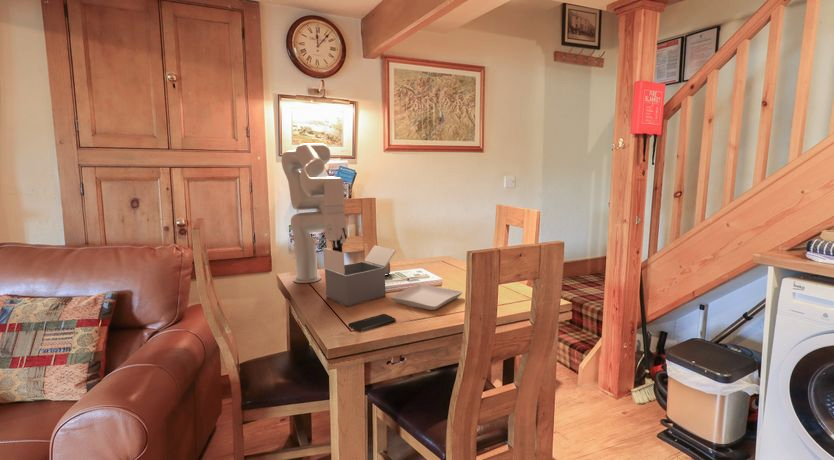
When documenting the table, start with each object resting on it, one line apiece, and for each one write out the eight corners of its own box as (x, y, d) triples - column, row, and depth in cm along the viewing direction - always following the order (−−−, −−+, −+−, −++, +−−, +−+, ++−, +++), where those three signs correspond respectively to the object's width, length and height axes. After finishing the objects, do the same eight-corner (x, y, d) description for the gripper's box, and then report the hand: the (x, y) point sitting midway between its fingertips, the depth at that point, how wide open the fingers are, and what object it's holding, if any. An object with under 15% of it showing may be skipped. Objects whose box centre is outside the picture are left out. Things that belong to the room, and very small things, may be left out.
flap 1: (343, 252, 164) (342, 253, 164) (344, 274, 165) (343, 274, 165) (324, 247, 175) (322, 247, 175) (325, 267, 177) (324, 267, 176)
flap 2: (374, 245, 191) (375, 245, 191) (364, 260, 188) (364, 261, 189) (395, 249, 180) (396, 250, 180) (384, 266, 177) (385, 267, 178)
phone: (397, 319, 150) (358, 330, 141) (397, 322, 151) (359, 333, 142) (384, 313, 157) (346, 323, 148) (384, 316, 157) (347, 326, 148)
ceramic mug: (390, 277, 208) (390, 261, 207) (373, 278, 207) (373, 262, 206) (388, 272, 218) (387, 256, 217) (371, 273, 217) (370, 257, 216)
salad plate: (463, 298, 174) (463, 290, 174) (435, 315, 157) (435, 305, 156) (419, 291, 186) (419, 283, 185) (388, 305, 169) (388, 296, 168)
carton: (326, 297, 179) (324, 268, 177) (363, 288, 190) (362, 261, 189) (347, 306, 167) (345, 276, 165) (385, 296, 178) (384, 267, 177)
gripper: (316, 209, 171) (319, 256, 174) (336, 212, 160) (339, 261, 163) (333, 208, 176) (336, 253, 179) (354, 210, 165) (356, 258, 168)
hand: (337, 257), depth 171 cm, fingers closed
